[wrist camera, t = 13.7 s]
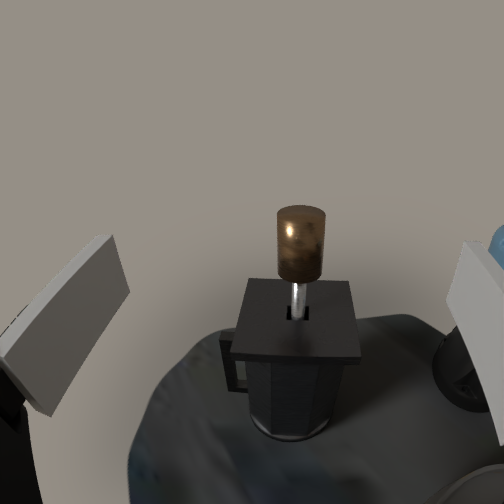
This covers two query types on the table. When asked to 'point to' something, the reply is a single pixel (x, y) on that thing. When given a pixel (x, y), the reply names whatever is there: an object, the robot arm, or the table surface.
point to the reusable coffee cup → (474, 488)
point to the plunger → (300, 250)
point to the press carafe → (291, 355)
